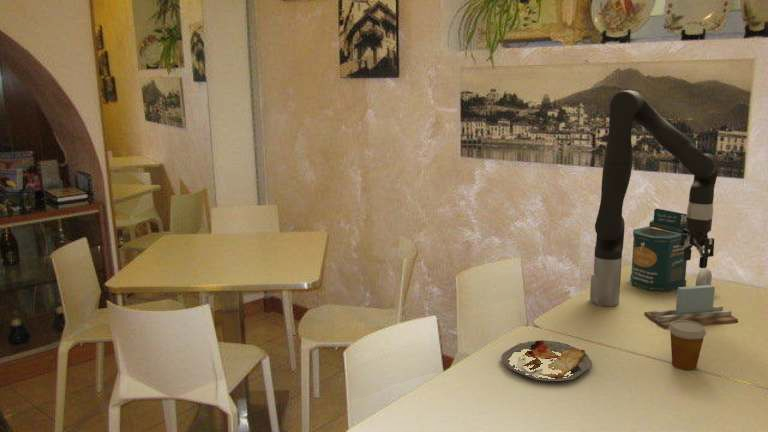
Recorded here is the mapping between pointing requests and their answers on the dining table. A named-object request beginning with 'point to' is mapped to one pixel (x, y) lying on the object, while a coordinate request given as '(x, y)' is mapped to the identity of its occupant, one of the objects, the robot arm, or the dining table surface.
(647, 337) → the dining table surface
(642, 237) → the donation box
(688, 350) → the disposable coffee cup
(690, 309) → the door panel
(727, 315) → the floor track
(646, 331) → the dining table surface
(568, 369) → the food plate
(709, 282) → the beige flat disc
